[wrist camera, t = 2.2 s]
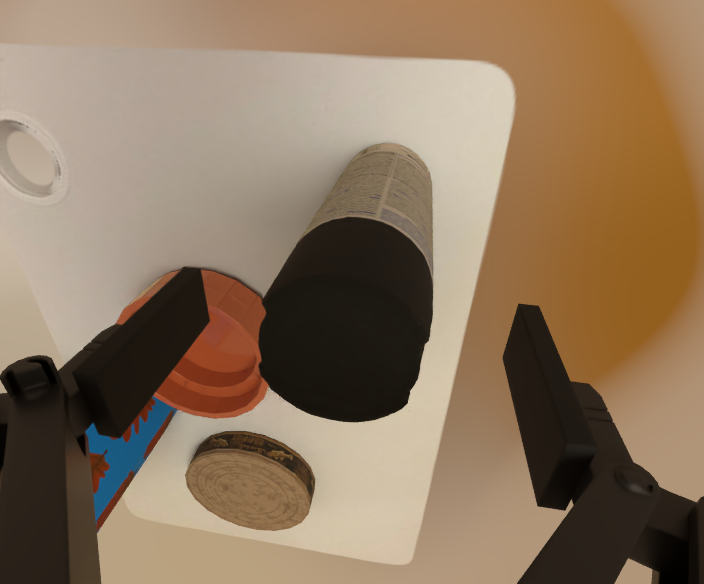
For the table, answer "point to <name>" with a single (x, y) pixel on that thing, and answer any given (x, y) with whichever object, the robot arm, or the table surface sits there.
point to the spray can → (355, 294)
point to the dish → (216, 352)
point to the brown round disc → (251, 481)
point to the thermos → (124, 455)
